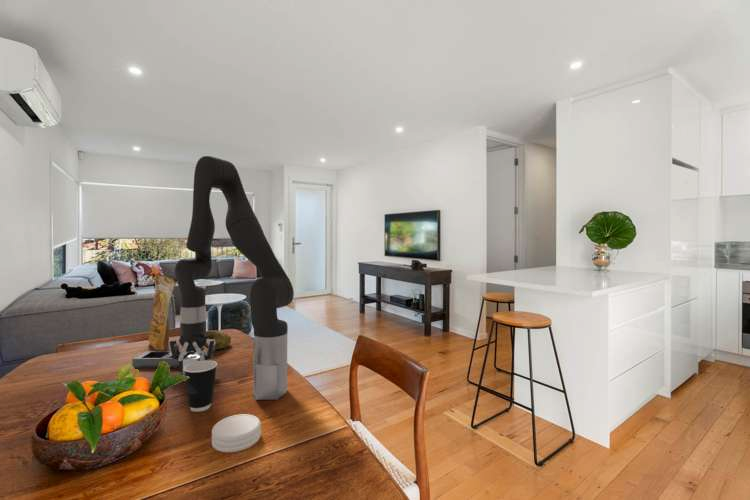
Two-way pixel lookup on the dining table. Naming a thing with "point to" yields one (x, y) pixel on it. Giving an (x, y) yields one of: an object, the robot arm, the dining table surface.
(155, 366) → the grey compartment tray
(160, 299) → the pancake mix bag
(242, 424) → the coaster
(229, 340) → the potato
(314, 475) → the dining table surface
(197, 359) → the nut block
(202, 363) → the dixie cup
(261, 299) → the robot arm
